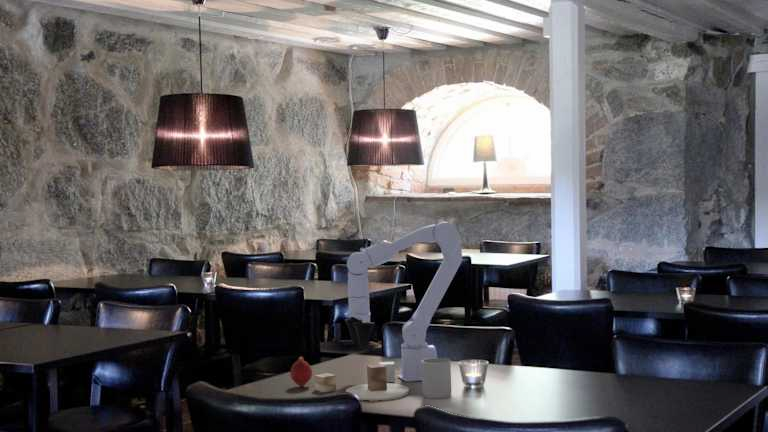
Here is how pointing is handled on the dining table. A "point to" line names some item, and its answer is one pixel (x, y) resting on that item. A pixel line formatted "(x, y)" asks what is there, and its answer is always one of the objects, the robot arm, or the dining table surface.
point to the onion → (301, 372)
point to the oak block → (325, 382)
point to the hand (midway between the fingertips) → (360, 346)
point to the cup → (436, 378)
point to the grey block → (389, 371)
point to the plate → (380, 392)
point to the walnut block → (376, 377)
